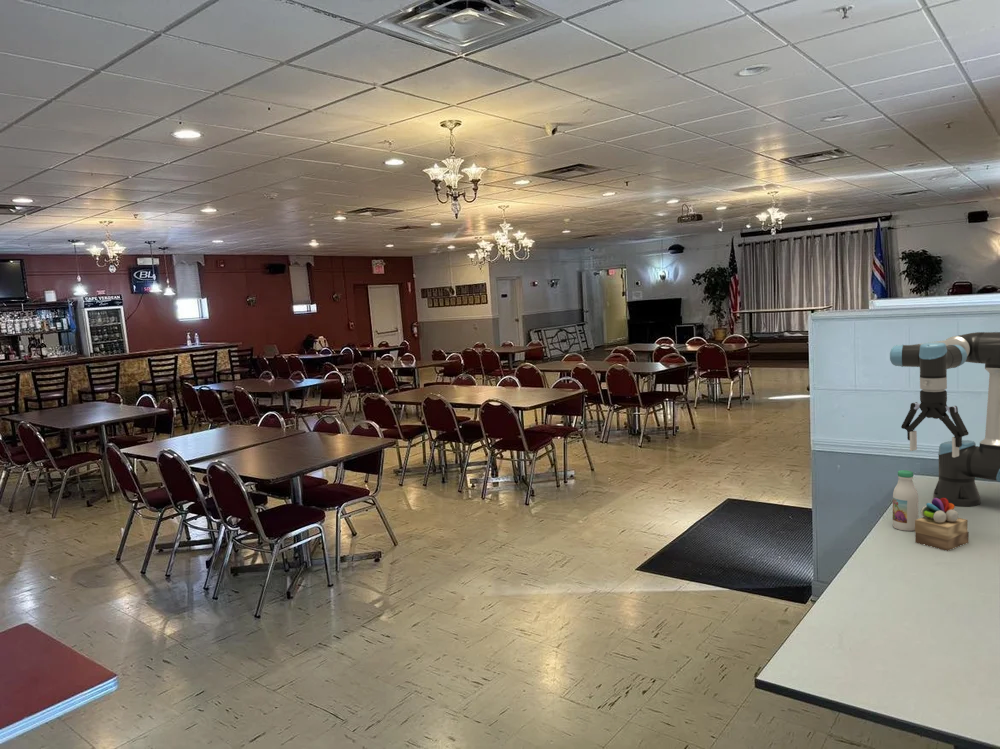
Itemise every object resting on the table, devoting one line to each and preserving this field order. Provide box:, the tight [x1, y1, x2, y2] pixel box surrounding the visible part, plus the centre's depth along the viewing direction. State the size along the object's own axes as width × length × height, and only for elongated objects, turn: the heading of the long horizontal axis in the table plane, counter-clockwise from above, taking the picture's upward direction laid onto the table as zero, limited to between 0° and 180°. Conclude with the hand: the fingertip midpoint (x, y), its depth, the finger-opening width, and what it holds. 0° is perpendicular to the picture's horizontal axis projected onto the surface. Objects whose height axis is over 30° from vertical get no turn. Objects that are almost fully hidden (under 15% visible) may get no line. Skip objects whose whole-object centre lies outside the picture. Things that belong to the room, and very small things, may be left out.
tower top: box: [914, 516, 969, 540], centre depth 226 cm, size 12×10×4 cm
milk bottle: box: [892, 469, 919, 532], centre depth 241 cm, size 8×8×20 cm
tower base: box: [914, 531, 970, 552], centre depth 226 cm, size 12×10×4 cm
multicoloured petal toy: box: [920, 498, 959, 523], centre depth 225 cm, size 8×10×7 cm
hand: (933, 453), depth 231 cm, fingers open, 13 cm apart
